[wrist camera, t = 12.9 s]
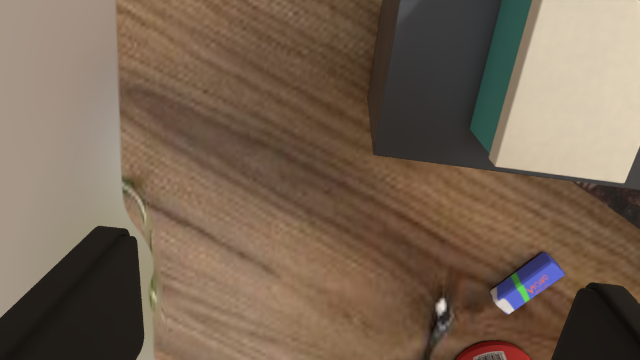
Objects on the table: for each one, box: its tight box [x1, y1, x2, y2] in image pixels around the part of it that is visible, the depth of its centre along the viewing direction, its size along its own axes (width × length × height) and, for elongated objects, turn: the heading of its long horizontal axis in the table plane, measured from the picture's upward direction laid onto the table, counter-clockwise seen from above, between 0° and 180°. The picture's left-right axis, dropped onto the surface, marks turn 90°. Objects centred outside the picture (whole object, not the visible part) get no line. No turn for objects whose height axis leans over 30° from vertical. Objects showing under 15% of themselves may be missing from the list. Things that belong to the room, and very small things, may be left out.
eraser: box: [490, 252, 565, 314], centre depth 40 cm, size 2×6×2 cm, turn 137°
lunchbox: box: [470, 0, 640, 183], centre depth 19 cm, size 8×5×5 cm, turn 173°
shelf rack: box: [367, 0, 640, 190], centre depth 27 cm, size 14×12×13 cm
